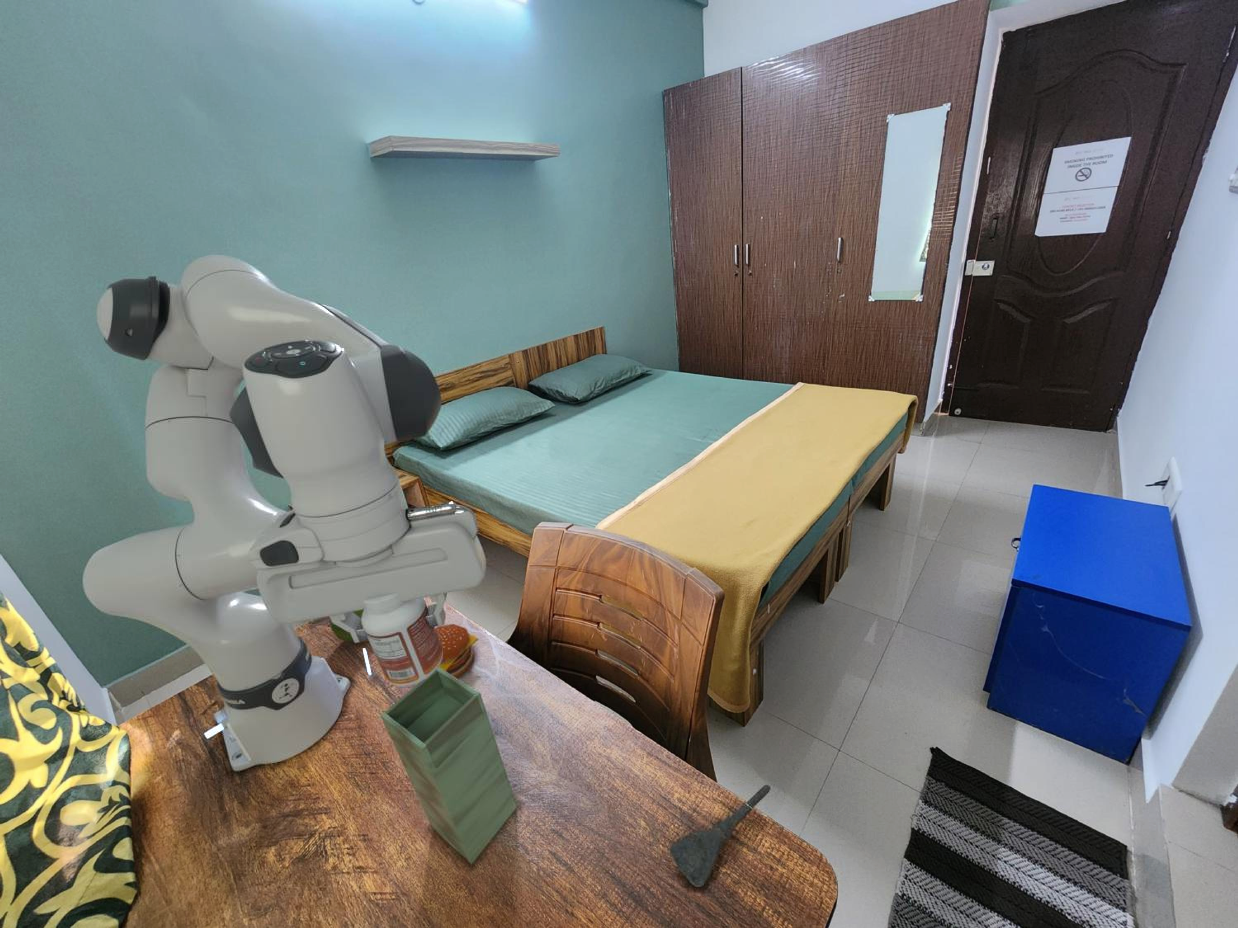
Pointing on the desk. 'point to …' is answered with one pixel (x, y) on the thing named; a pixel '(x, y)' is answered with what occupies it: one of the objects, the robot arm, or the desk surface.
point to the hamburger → (455, 648)
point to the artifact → (709, 843)
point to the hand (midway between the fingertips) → (401, 630)
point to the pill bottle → (402, 639)
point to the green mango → (341, 632)
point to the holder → (452, 761)
